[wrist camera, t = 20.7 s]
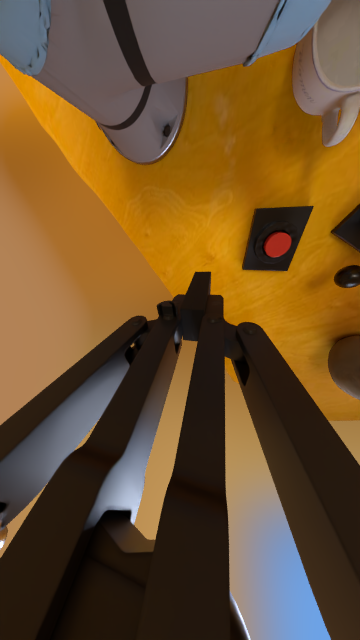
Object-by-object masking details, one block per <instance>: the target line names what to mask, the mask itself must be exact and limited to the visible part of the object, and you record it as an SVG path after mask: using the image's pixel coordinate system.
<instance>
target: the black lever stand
mask: <svg viewBox="0 0 360 640" xmlns="http://www.w3.org/2000/svg"><path fill="white" fill-rule="evenodd" d="M331 233H332V234H334V235H335V236H337V237H338V238H340V239H341V240H343V241H344V242H345V243H347V244H348V245H350V246H351V247H353V248H354V249H356V250H357V251H359V252H360V204H359V205H358V206H357V207H356V208H355V209H354V210H353V211H352V212H351V213H350V214H349V215H348V216H347V217H346V218H344V219H343V220H342V221H341V222H340V223H339V224H338V225H337V226H336V227H335V228H334V229H333V230H332V231H331Z"/></svg>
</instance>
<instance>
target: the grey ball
mask: <svg viewBox="0 0 360 640" xmlns="http://www.w3.org/2000/svg"><path fill="white" fill-rule="evenodd" d="M328 368H329V372H330V374H331V377H332V379H333V381H334V382H335V383H336V385H337V386H338V387H339V388H340V389H342V390H343V391H344V392H346V393H347V394H349V395H351V396H353V397H355V398H357V399H359V400H360V335H358V336H351V337H347V338H344V339H342V340H340V341H339V342H337V343H336V344H335V345H334V346H333V347H332V348H331V350H330V352H329V358H328Z"/></svg>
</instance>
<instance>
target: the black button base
mask: <svg viewBox="0 0 360 640" xmlns="http://www.w3.org/2000/svg"><path fill="white" fill-rule="evenodd" d="M313 207H314V206H302V207H281V208H259V209H255V211H254V215H253V220H252V224H251V229H250V234H249V238H248V243H247V247H246V252H245V257H244V261H243V266H242V268H243V270H271V271H287V270H288V268H289V266H290V263H291V261H292V258H293V256H294V253H295V251H296V248H297V246H298V243H299V241H300V239H301V236H302V234H303V231H304V229H305V226H306V224H307V221H308V219H309V217H310V214H311V212H312V209H313ZM275 232H284V233H286V234H288V235H289V236H290V237H291V246H290V248H289V249H288V251H287V252H286V253H284V254H283V255H281V256H279V257H270V256H269V255H267V254H266V253H265V251H264V248H263V246H264V242H265V240H266V239H267V237H268V236H270V235H271V234H273V233H275Z"/></svg>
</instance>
